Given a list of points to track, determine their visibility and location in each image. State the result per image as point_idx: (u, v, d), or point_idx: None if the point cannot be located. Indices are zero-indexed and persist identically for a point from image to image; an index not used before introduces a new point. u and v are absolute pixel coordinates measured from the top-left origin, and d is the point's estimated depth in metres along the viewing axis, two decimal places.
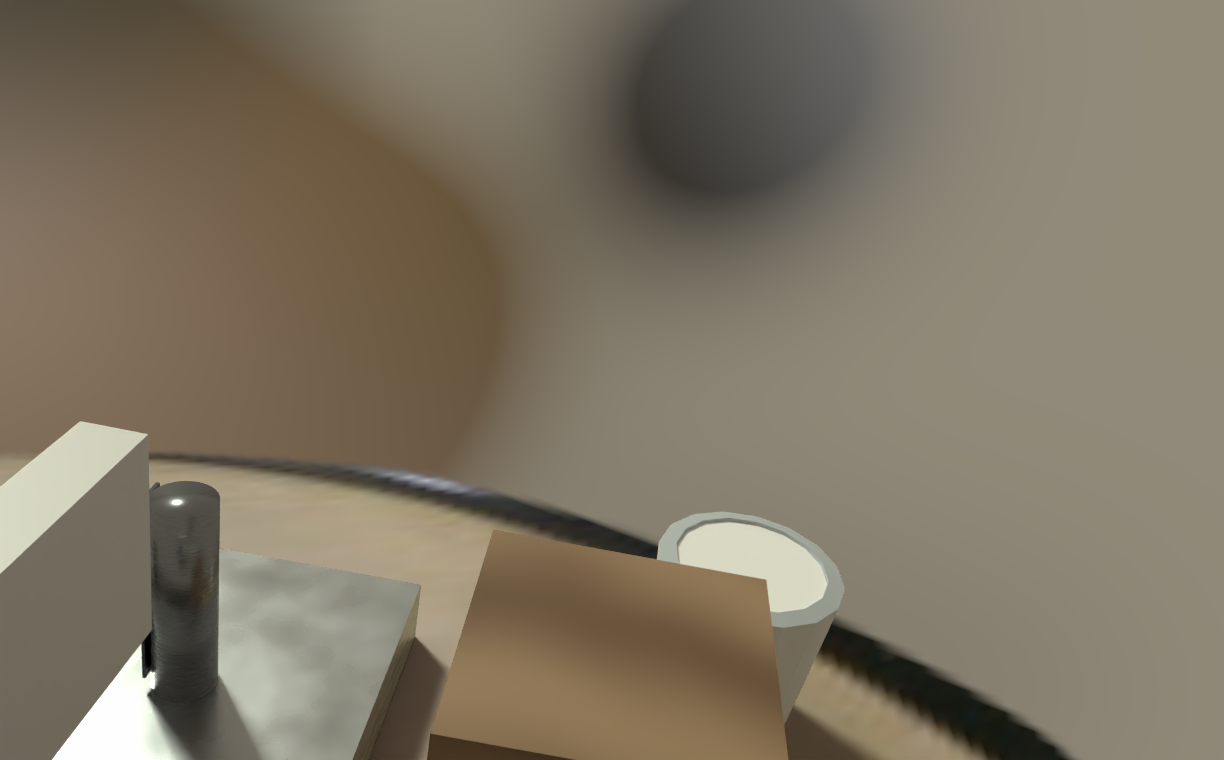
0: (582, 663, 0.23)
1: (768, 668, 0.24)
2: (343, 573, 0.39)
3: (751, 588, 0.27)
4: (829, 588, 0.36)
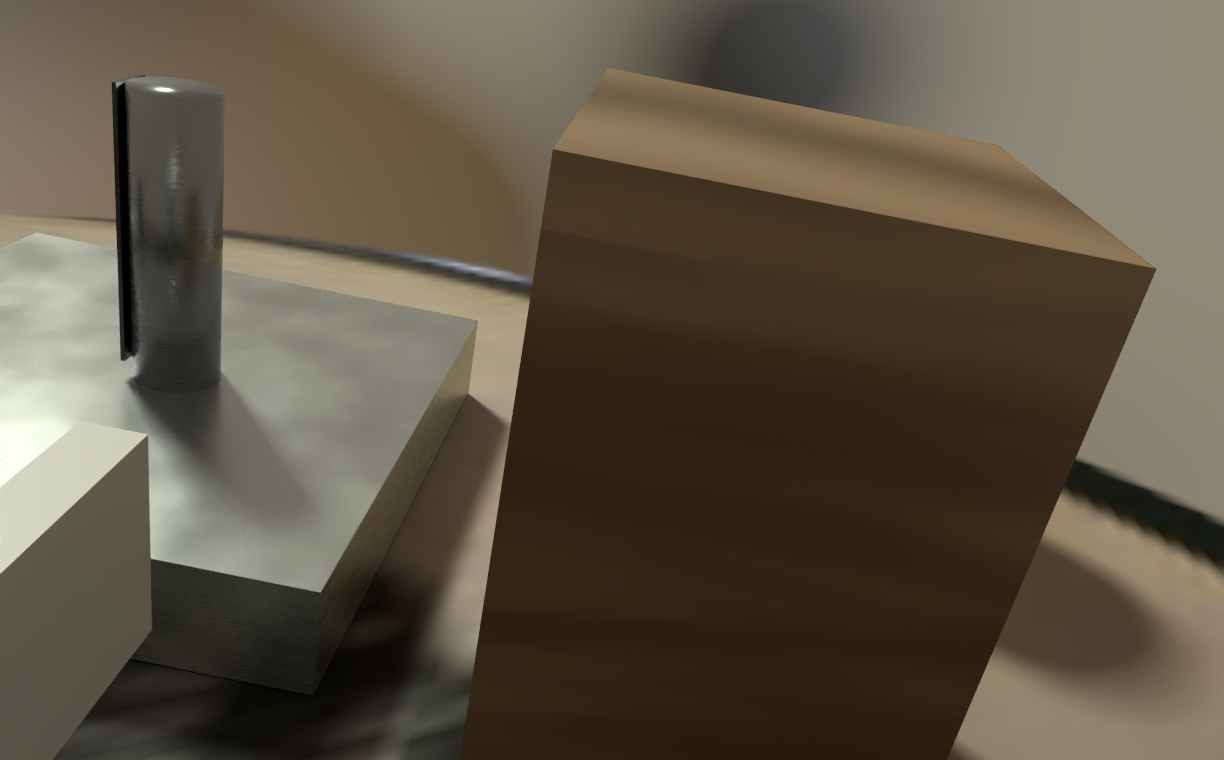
0: (770, 146, 0.15)
1: (1043, 188, 0.16)
2: (381, 303, 0.31)
3: (981, 146, 0.18)
4: None
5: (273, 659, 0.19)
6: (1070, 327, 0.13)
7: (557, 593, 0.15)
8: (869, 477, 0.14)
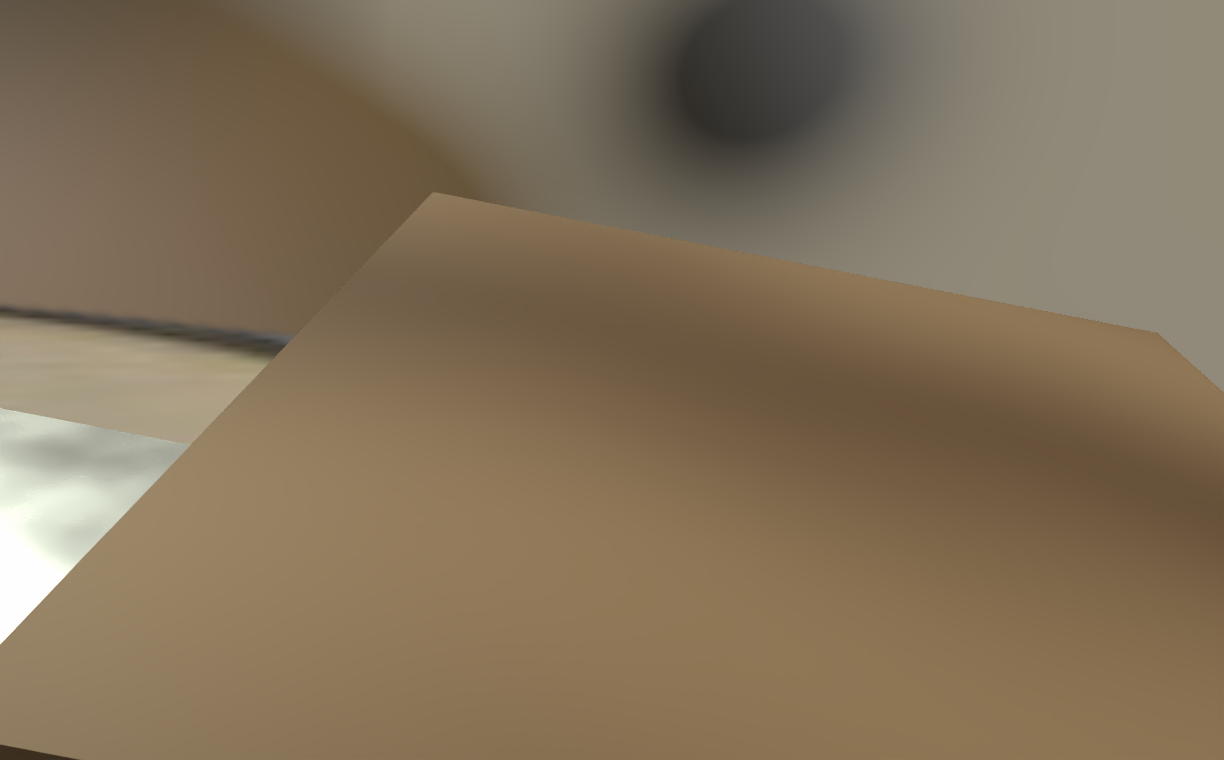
0: (721, 471, 0.06)
1: None
2: None
3: (1134, 344, 0.10)
4: None
5: None
6: None
7: None
8: None
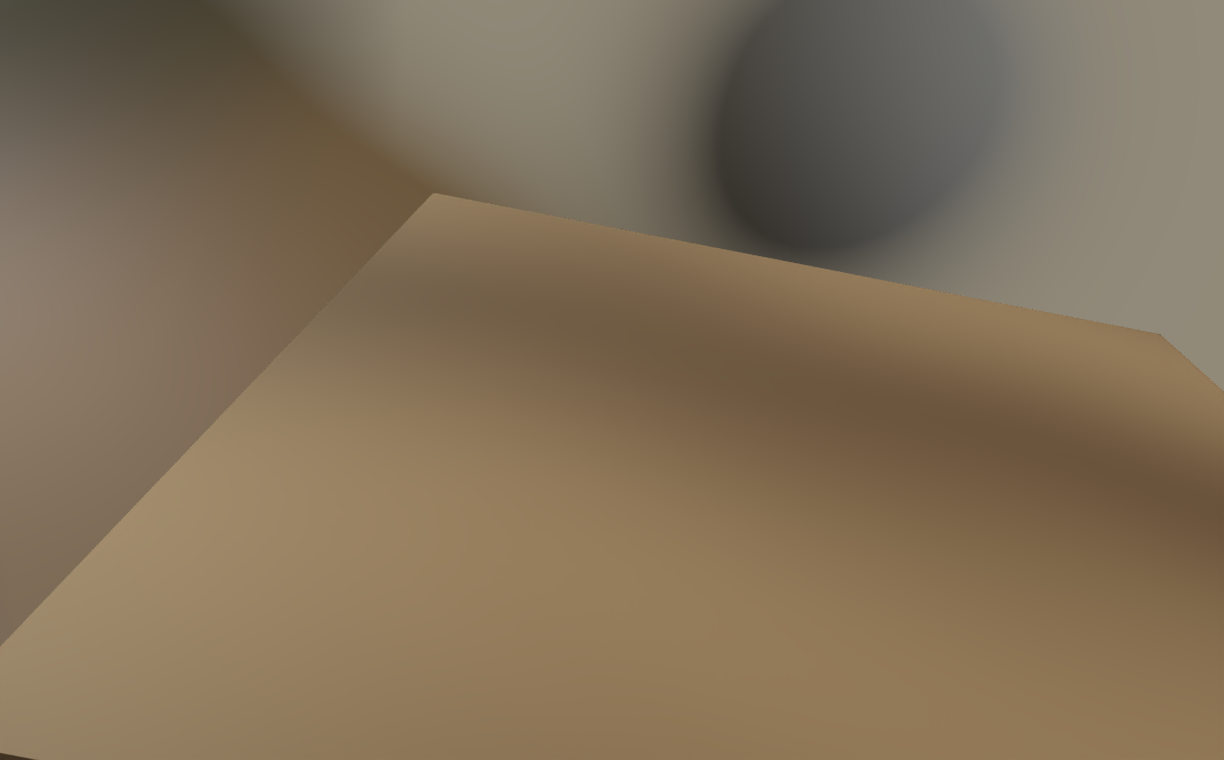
0: (723, 474, 0.06)
1: None
2: None
3: (1137, 345, 0.10)
4: None
5: None
6: None
7: None
8: None
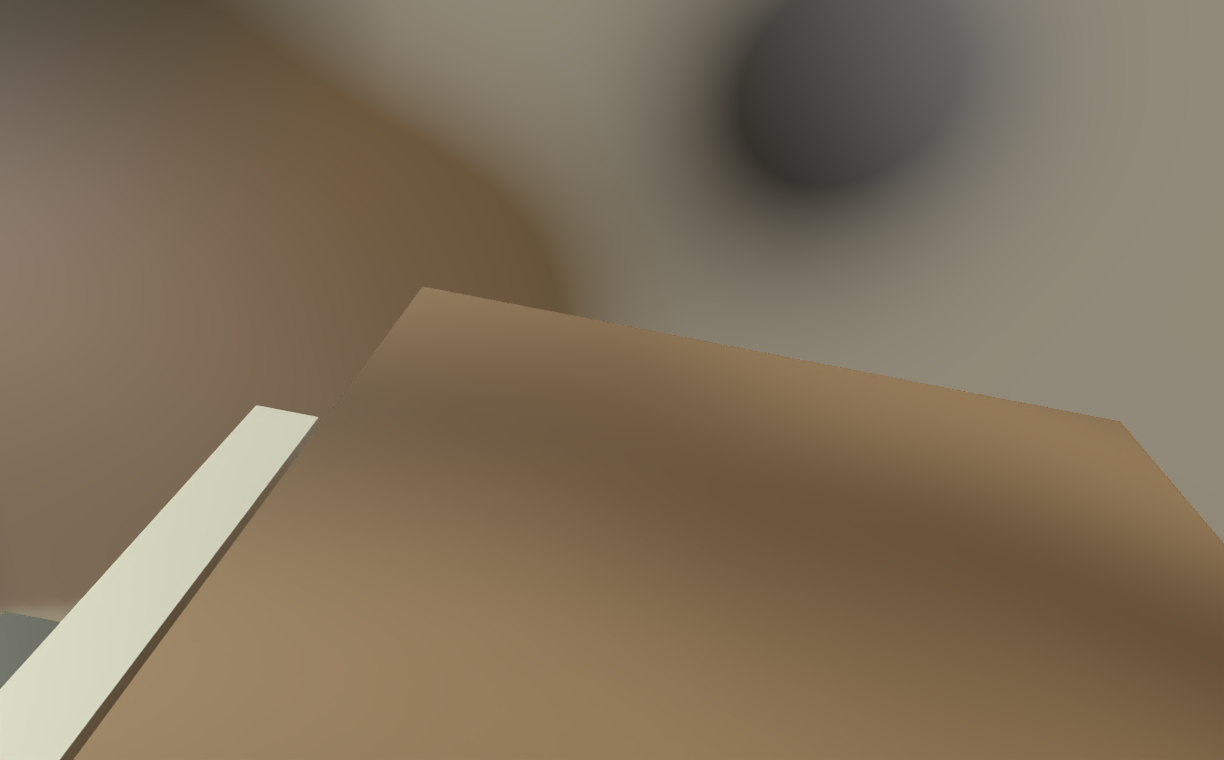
0: (688, 608, 0.06)
1: None
2: None
3: (1097, 436, 0.10)
4: None
5: None
6: None
7: None
8: None
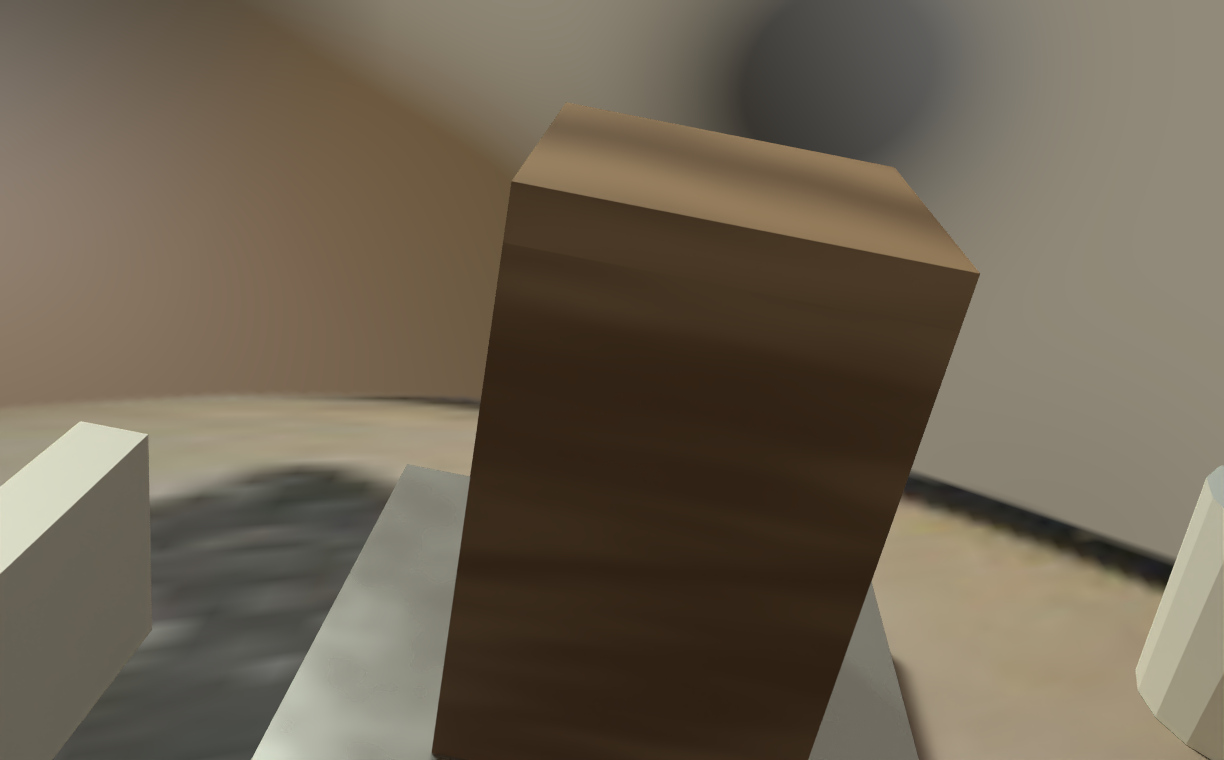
0: (691, 174, 0.18)
1: (917, 207, 0.19)
2: None
3: (878, 169, 0.22)
4: None
5: None
6: (917, 319, 0.16)
7: (520, 536, 0.18)
8: (767, 439, 0.17)
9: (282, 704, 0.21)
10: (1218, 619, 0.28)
